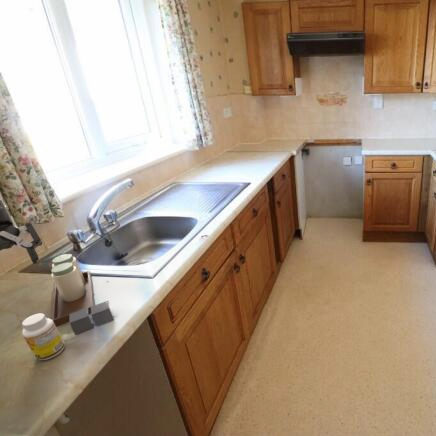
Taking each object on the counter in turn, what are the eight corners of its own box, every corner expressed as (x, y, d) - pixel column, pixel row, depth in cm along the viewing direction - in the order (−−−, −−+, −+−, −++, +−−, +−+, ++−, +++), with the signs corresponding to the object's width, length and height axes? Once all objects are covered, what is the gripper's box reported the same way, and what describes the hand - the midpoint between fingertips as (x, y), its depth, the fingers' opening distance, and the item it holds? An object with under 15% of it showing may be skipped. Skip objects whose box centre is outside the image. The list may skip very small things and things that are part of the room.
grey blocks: (75, 335, 82) (69, 322, 80) (75, 326, 85) (69, 314, 83) (114, 320, 86) (109, 308, 85) (112, 312, 89) (108, 300, 87)
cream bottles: (62, 304, 92) (48, 275, 88) (63, 284, 101) (50, 257, 97) (86, 296, 95) (74, 267, 91) (85, 277, 104) (73, 250, 100)
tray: (54, 328, 84) (50, 321, 83) (57, 288, 100) (53, 281, 99) (96, 313, 89) (93, 306, 88) (92, 277, 105) (89, 270, 104)
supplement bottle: (37, 350, 77) (18, 317, 73) (65, 339, 80) (49, 307, 76) (35, 365, 73) (15, 331, 69) (65, 353, 76) (48, 320, 72)
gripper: (-64, 216, 71) (-36, 278, 69) (20, 197, 81) (46, 252, 78) (-50, 230, 77) (-24, 288, 75) (27, 211, 86) (52, 262, 84)
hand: (12, 270), depth 76 cm, fingers open, 8 cm apart
